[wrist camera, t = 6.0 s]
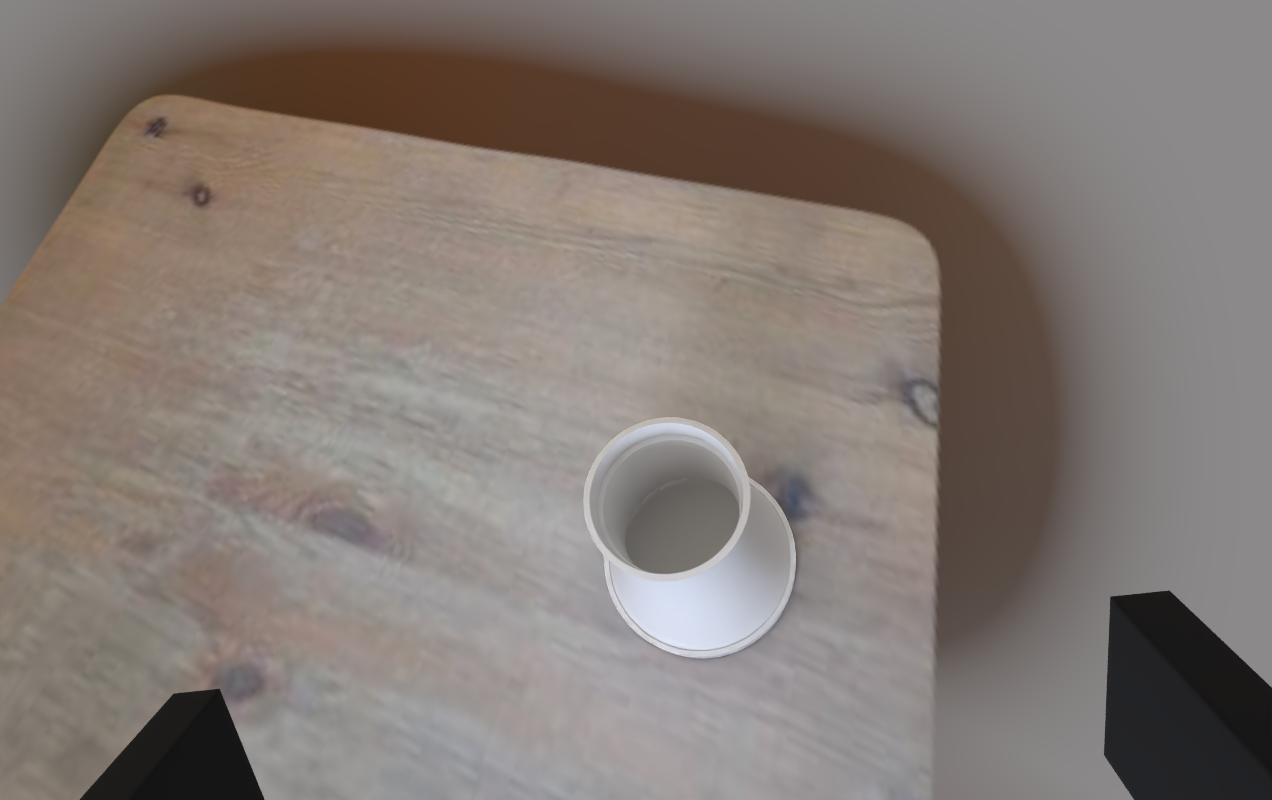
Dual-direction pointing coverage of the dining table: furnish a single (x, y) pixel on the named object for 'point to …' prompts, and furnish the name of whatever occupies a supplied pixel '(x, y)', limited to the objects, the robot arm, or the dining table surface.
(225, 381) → the dining table surface
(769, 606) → the vase
